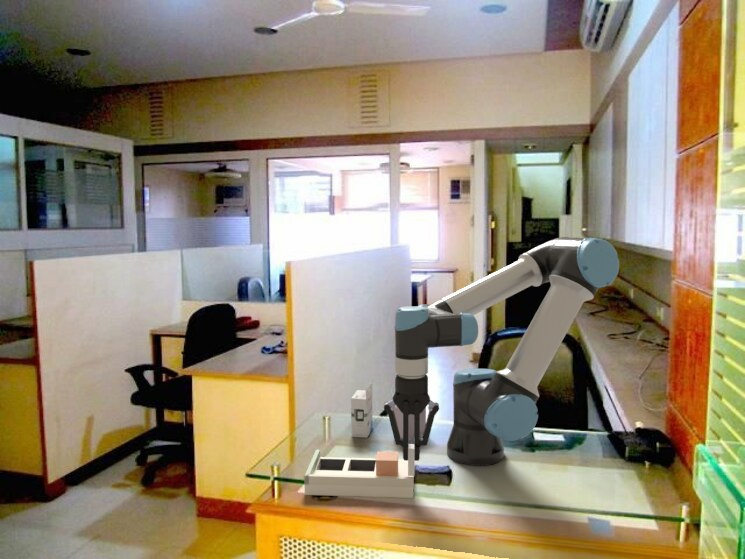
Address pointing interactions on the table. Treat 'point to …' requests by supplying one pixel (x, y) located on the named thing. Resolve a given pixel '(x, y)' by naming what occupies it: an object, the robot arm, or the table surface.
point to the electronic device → (409, 423)
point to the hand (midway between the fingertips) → (411, 473)
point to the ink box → (361, 412)
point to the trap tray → (355, 478)
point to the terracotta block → (387, 464)
